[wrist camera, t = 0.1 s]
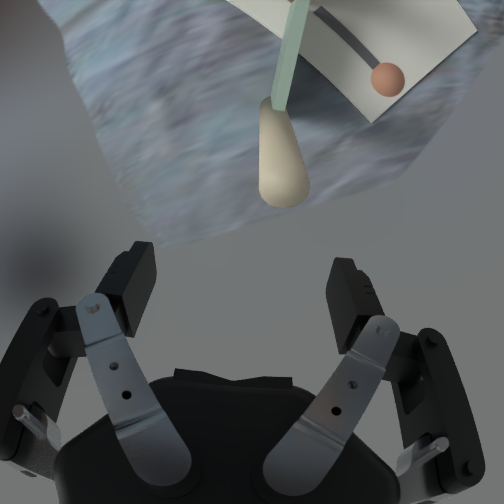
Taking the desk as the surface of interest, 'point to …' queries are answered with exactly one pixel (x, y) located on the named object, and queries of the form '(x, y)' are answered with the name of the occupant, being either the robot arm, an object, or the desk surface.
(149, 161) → the desk surface
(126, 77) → the desk surface
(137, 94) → the desk surface
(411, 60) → the white board with posts
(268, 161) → the l-shaped bracket
